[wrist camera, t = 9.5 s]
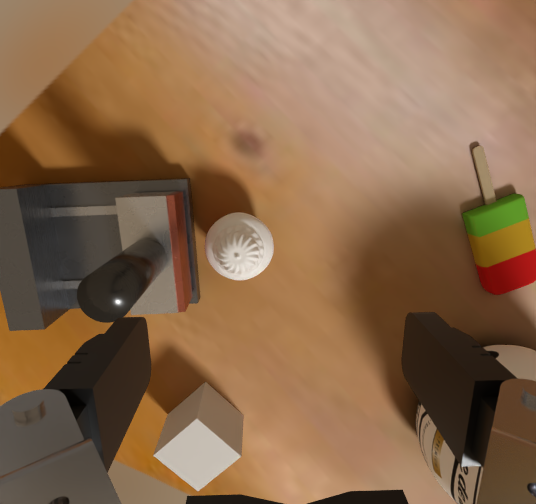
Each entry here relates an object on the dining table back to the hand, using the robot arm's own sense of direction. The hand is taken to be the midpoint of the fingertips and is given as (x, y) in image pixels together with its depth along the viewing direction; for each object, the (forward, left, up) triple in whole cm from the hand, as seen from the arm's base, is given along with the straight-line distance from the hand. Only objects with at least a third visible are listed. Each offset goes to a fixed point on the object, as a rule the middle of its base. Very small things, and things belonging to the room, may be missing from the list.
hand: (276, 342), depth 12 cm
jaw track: (+2, -15, -26) cm, 30 cm away
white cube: (+22, -7, -26) cm, 35 cm away
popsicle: (+1, +23, -26) cm, 35 cm away
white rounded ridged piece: (+2, -2, -26) cm, 26 cm away
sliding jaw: (+2, -9, -24) cm, 25 cm away
